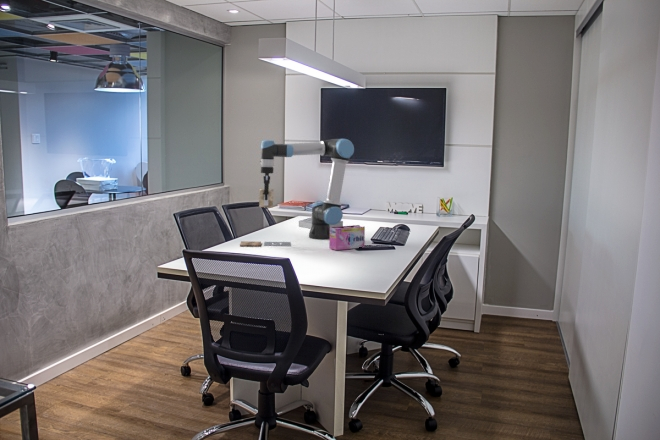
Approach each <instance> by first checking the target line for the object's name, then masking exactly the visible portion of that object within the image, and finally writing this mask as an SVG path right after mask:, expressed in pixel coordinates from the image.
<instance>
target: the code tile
mask: <svg viewBox="0 0 660 440" xmlns="http://www.w3.org/2000/svg"><path fill="white" fill-rule="evenodd" d="M263 246H265V247H292V243H291V241H264V243H263Z"/></svg>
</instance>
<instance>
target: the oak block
mask: <svg viewBox="0 0 660 440" xmlns="http://www.w3.org/2000/svg"><path fill="white" fill-rule="evenodd" d="M268 192H269V198H268V206H266V205H264V194H263V193H264V188H260V189H259V195H258V196H259V199H258V200H259V202H258V206H259V208H273V207H274V189H271V188H269V190H268Z"/></svg>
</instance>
